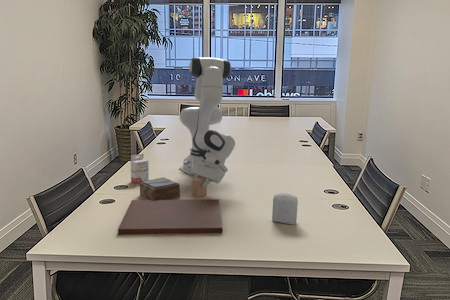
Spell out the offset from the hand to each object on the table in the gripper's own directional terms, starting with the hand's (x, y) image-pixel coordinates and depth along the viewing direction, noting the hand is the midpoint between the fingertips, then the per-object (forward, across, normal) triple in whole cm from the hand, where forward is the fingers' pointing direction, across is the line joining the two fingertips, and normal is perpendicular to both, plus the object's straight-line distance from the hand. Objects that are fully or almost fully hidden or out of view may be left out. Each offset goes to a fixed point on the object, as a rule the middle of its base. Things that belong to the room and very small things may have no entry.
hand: (198, 185), depth 202 cm
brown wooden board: (+23, +17, -14) cm, 32 cm away
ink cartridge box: (+11, -39, -4) cm, 41 cm away
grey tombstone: (-1, +50, +8) cm, 51 cm away
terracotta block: (+3, 0, +4) cm, 5 cm away
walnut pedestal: (+14, -11, -7) cm, 20 cm away
